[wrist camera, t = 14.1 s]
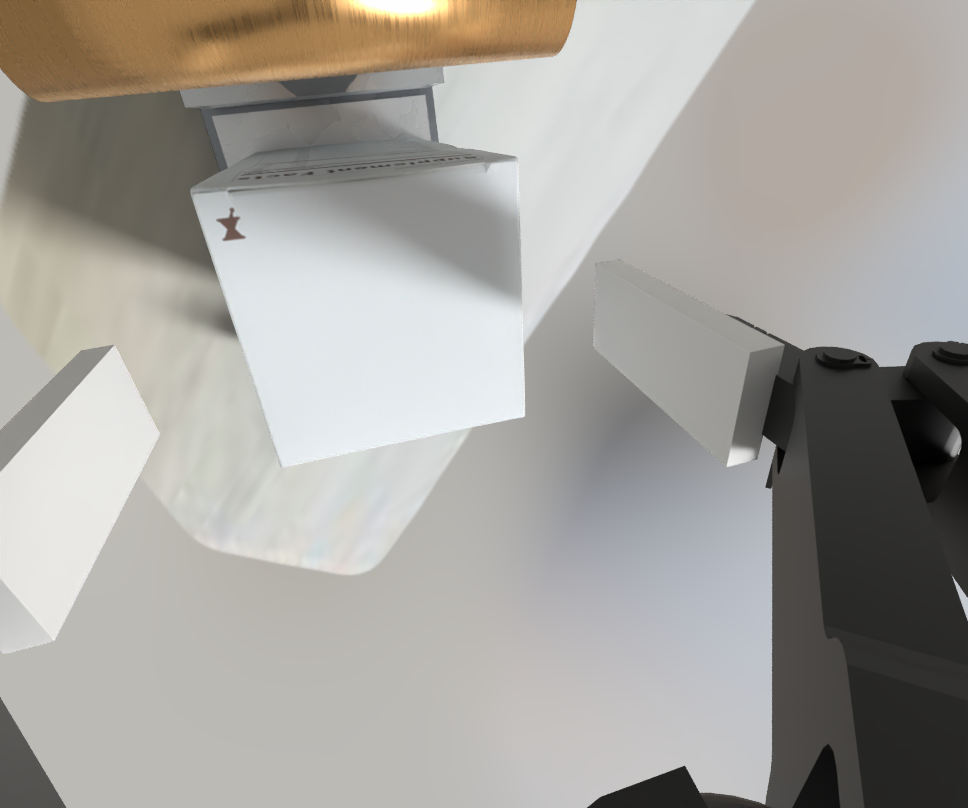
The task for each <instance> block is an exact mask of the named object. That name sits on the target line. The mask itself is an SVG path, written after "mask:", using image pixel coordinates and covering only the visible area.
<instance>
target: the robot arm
mask: <svg viewBox="0 0 968 808" xmlns="http://www.w3.org/2000/svg"><path fill="white" fill-rule="evenodd" d="M595 266H596V267H595V301H594V338H593V348H594V349H596V350H597V351H598V352H599V353H600V354H601V355H602V356H604V358H606V359H607V360H608V361H609V362H610V363H611V364H612V365H613V366H615V367H616V368H617V369H618V370H619V371H620V372H621V373H622V374H623V375H625V376H626V377H627V378H628V379H629V380H630V381H631V382H632V383H633V384H635V385H636V386H637V387H638V388H639V389H640V390H641V391H642V392H644V393H645V394H646V395H647V396H648V397H649V398H650V399H652V401H654V402H655V403H656V404H657V405H658V406H659V407H660V408H661V409H662V410H664V411H665V412H666V413H667V414H668V415H669V416H670V417H671V418H673V419H674V420H675V421H676V422H677V423H678V424H679V425H680V426H682V427H683V428H684V429H685V430H686V431H687V432H688V433H689V434H690V435H691V436H693V437H694V438H695V439H696V440H697V441H698V442H699V443H700V444H701V445H703V446H704V447H705V448H706V449H707V450H708V451H709V452H710V453H712V454H713V455H714V456H715V457H716V458H717V459H718V460H719V461H720V462H722V463H723V464H724V465H725V466H726V467H729V466H733V465H736V464H741V463H744V462H748V461H752V460H756V459H757V458H758V454H759V450H760V446H761V442H762V438H763V435H764V436H765V437H766V438H768V439H769V440H770V441H772V442H773V443H774V444H776V449H775V452H774V456H773V460H772V464H771V468H770V472H769V475H768V479H767V483H766V488H770V489H771V488H772V493H773V496H772V500H773V501H772V507H773V509H772V513H773V514H772V517H773V518H772V521H773V522H772V531H773V532H772V534H773V535H772V536H773V537H772V546H773V547H772V550H773V551H772V552H773V553H772V764H771V773H770V779H769V785H768V790H767V796H766V804H765V805H764V804H762V803H759V802H756V801H752V800H748V799H744V798H740V797H736V796H731V795H723V794H714V793H699V791H698V789H697V787H696V785H695V783H694V782H693V780H692V778H691V776H690V774H689V772H688V771H687V769H686V767H685V766H683V767H680V768H677V769H675V770H672V771H669V772H667V773H664V774H661V775H659V776H656V777H653V778H651V779H648V780H645V781H642V782H640V783H637V784H635V785H632V786H629V787H626V788H624V789H621V790H619V791H615V792H613V793H610V794H607V795H605V796H602V797H600V798H599V799H597V800H596V801H595V802H594V803H592V804H591V805H590V806H589V807H587V808H968V621H967V618H966V615H965V612H964V609H963V607H962V604H961V601H960V598H959V595H958V592H957V590H956V586H955V584H954V581H953V578H952V576H953V577H954V579H955V580H956V582H957V583H958V584H959V586H960V587H961V589H962V590H963V592H964V593H965V595H966V596H967V597H968V344H965V343H959V342H954V341H948V342H924V343H921V344H918V345H915V346H914V348H913V349H912V351H911V353H910V356H909V359H908V361H907V364H906V366H899V367H898V366H897V367H879V366H878V364H877V363H876V362H875V361H874V360H873V359H872V358H870V357H868V356H867V355H865V354H862V353H859V352H856V351H853V350H850V349H844V348H838V347H816V348H809V349H807V350H805V351H803V350H801V349H799V348H797V347H796V346H793V345H791V344H790V343H788V342H786V341H784V340H782V339H780V338H778V337H776V336H774V335H772V334H767V332H766V331H764V330H762V329H760V328H758V327H754V325H752V324H750V323H748V322H746V321H744V320H742V319H740V318H738V317H734V316H731V315H727V314H724V313H722V312H720V311H718V310H716V309H714V308H712V307H710V306H708V305H707V304H705V303H703V302H701V301H699V300H697V299H695V298H693V297H691V296H689V295H687V294H685V293H683V292H682V291H679V290H678V289H676V288H674V287H672V286H670V285H668V284H666V283H664V282H662V281H660V280H658V279H656V278H654V277H652V276H650V275H648V274H647V273H645V272H643V271H641V270H639V269H637V268H635V267H633V266H631V265H629V264H627V263H625V262H623V261H621V260H612V261H606V262H601V263H596V265H595ZM159 436H160V433H159V431H158V429H157V427H156V425H155V423H154V421H153V420H152V418H151V416H150V414H149V412H148V410H147V408H146V406H145V404H144V402H143V400H142V398H141V396H140V394H139V392H138V390H137V388H136V386H135V384H134V382H133V380H132V378H131V376H130V374H129V372H128V370H127V368H126V366H125V364H124V362H123V360H122V358H121V356H120V354H119V352H118V350H117V348H116V347H115V345H111V346H105V347H99V348H93V349H87V350H82V351H80V352H79V353H78V354H77V355H76V356H75V357H74V358H73V359H72V360H71V361H70V362H69V363H68V364H67V365H66V366H65V367H64V368H63V369H62V370H61V371H60V372H59V373H58V374H57V375H56V376H55V377H54V378H53V379H52V380H51V381H50V382H49V383H48V384H47V385H46V386H45V387H44V388H43V389H42V390H41V391H40V392H39V393H38V394H37V395H36V396H35V397H34V398H32V400H30V401H29V403H27V404H26V405H25V406H24V407H23V408H22V409H21V410H20V411H19V412H18V413H17V414H16V415H15V416H14V417H13V418H12V419H11V420H10V421H9V422H8V423H7V424H6V425H5V426H4V427H3V428H2V429H1V430H0V651H1V652H2V653H3V654H7V653H11V652H14V651H18V650H22V649H26V648H30V647H34V646H38V645H42V644H45V643H49V642H53V641H55V639H56V637H57V635H58V633H59V631H60V629H61V627H62V625H63V623H64V621H65V619H66V617H67V615H68V613H69V611H70V609H71V607H72V605H73V603H74V602H75V599H76V598H77V596H78V594H79V592H80V590H81V587H82V586H83V584H84V582H85V580H86V578H87V576H88V574H89V572H90V570H91V568H92V566H93V564H94V563H95V561H96V559H97V556H98V554H99V553H100V551H101V549H102V547H103V545H104V543H105V541H106V539H107V537H108V535H109V533H110V531H111V529H112V527H113V525H114V523H115V522H116V520H117V518H118V515H119V513H120V511H121V510H122V508H123V506H124V504H125V502H126V500H127V498H128V496H129V494H130V492H131V490H132V488H133V486H134V484H135V482H136V481H137V478H138V477H139V475H140V473H141V471H142V469H143V467H144V465H145V463H146V461H147V459H148V457H149V455H150V453H151V451H152V449H153V447H154V445H155V443H156V442H157V440H158V438H159ZM960 447H961V450H960V453H959V455H958V454H957V453H958V451H959V449H960ZM951 574H952V575H951ZM0 808H66V806H65V805H64V803H63V801H62V800H61V798H60V797H59V795H58V793H57V792H56V790H55V788H54V786H53V785H52V783H51V781H50V780H49V778H48V776H47V775H46V773H45V771H44V770H43V768H42V766H41V765H40V763H39V761H38V760H37V758H36V756H35V755H34V753H33V751H32V750H31V748H30V746H29V745H28V743H27V741H26V740H25V738H24V736H23V735H22V733H21V731H20V730H19V728H18V726H17V725H16V723H15V721H14V720H13V718H12V716H11V715H10V713H9V711H8V710H7V708H6V706H5V705H4V703H3V701H2V700H1V698H0Z"/></svg>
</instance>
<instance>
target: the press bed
mask: <svg viewBox="0 0 968 808" xmlns="http://www.w3.org/2000/svg"><path fill="white" fill-rule="evenodd" d="M200 110H201V113H202V116H203V120H204V123H205V126H206V129H207V132H208V135H209V138H210V141H211V144H212V147H213V150H214V154H215V157H216V160H217V163H218V166H219V169H220V172H221V171H223V170H225V169H227V168H229V167H231V166H232V165H234V164H236V163H238V162H239V161H241V160H243V159H245V158H247V157H248V156H250V155H252V154H254V153H257V152H262V151H270V150H279V149H288V148H299V147H309V146H319V145H330V144H342V143H353V142H365V141H377V140H389V139H403V138H420V139H424V140H427V141H432V142H438V143H439V141H438V133H437V125H436V116H435V108H434V100H433V91H432V86H431V87H427V88H421V89H411V90H400V91H390V92H380V93H369V94H359V95H349V96H339V97H328V98H318V99H308V100H298V101H287V102H277V103H267V104H257V105H246V106H236V107H226V108H215V109H200Z"/></svg>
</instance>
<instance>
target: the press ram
mask: <svg viewBox="0 0 968 808" xmlns="http://www.w3.org/2000/svg"><path fill="white" fill-rule="evenodd" d="M576 1H577V0H0V68H1V70H2V71H3V72H4V73H5V74H6V75H7V76H8V78H9V79H10V80H11V81H12V82H13V83H14V84H15V85H16V86H17V87H18V88H19V89H21V90H22V91H23V92H24V93H25V94H27V95H28V96H30V97H31V98H33V99H35V100H37V101H39V102H55V101H66V100H77V99H88V98H99V97H110V96H121V95H133V94H144V93H155V92H166V91H177V90H179V91H180V94H181V97H182V100H183V103H184V106H185V108H198V109H215V108H226V107H236V106H246V105H257V104H267V103H277V102H287V101H298V100H308V99H318V98H328V97H339V96H349V95H359V94H369V93H380V92H390V91H400V90H411V89H421V88H427V87H431V86H434V85H438V84H441V83H444V76H443V66H455V65H466V64H477V63H488V62H499V61H510V60H521V59H532V58H543V57H553V56H555V55H557V54H558V53H559V52H560V51H561V49H562V48H563V46H564V44H565V42H566V40H567V37H568V35H569V32H570V29H571V25H572V22H573V18H574V13H575V8H576Z"/></svg>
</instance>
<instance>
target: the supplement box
mask: <svg viewBox="0 0 968 808" xmlns="http://www.w3.org/2000/svg"><path fill="white" fill-rule="evenodd" d="M190 195H191V198H192V201H193V204H194V207H195V210H196V213H197V216H198V219H199V222H200V225H201V228H202V231H203V234H204V237H205V240H206V243H207V246H208V249H209V252H210V255H211V258H212V261H213V264H214V267H215V270H216V273H217V276H218V279H219V282H220V285H221V288H222V292H223V295H224V298H225V301H226V304H227V307H228V310H229V313H230V316H231V319H232V322H233V325H234V328H235V331H236V334H237V337H238V340H239V343H240V346H241V349H242V352H243V355H244V358H245V361H246V364H247V367H248V370H249V373H250V376H251V379H252V382H253V385H254V388H255V391H256V394H257V397H258V400H259V403H260V406H261V409H262V412H263V415H264V418H265V421H266V424H267V427H268V430H269V433H270V436H271V439H272V442H273V445H274V448H275V451H276V454H277V456H278V460H279V463H280V466H281V467H283V468H284V467H289V466H293V465H298V464H302V463H307V462H312V461H316V460H321V459H325V458H330V457H334V456H339V455H344V454H348V453H353V452H358V451H363V450H367V449H372V448H377V447H381V446H386V445H391V444H396V443H400V442H405V441H410V440H415V439H420V438H424V437H429V436H433V435H438V434H442V433H447V432H452V431H457V430H461V429H466V428H470V427H475V426H480V425H485V424H490V423H495V422H500V421H505V420H510V419H514V418H521V417H524V416H525V386H524V385H525V384H524V355H523V321H522V281H521V241H520V213H519V162H518V158H517V157H515V156H509V155H504V154H498V153H492V152H486V151H481V150H474V149H463V148H461V149H460V148H456V147H454V146H452V145H448V144H443V143H438V142H432V141H427V140H424V139H420V138H403V139H389V140H377V141H365V142H353V143H342V144H330V145H319V146H309V147H299V148H288V149H279V150H270V151H262V152H257V153H254V154H252V155H250V156H248V157H247V158H245V159H243V160H241V161H239V162H238V163H236V164H234V165H232V166H231V167H229V168H227V169H225V170H223V171H221V172H219V173H217V174H215V175H213V176H211V177H210V178H208V179H206V180H204V181H202V182H200V183H198V184H197V185H195V186H193V187H192V188H191V189H190Z"/></svg>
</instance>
